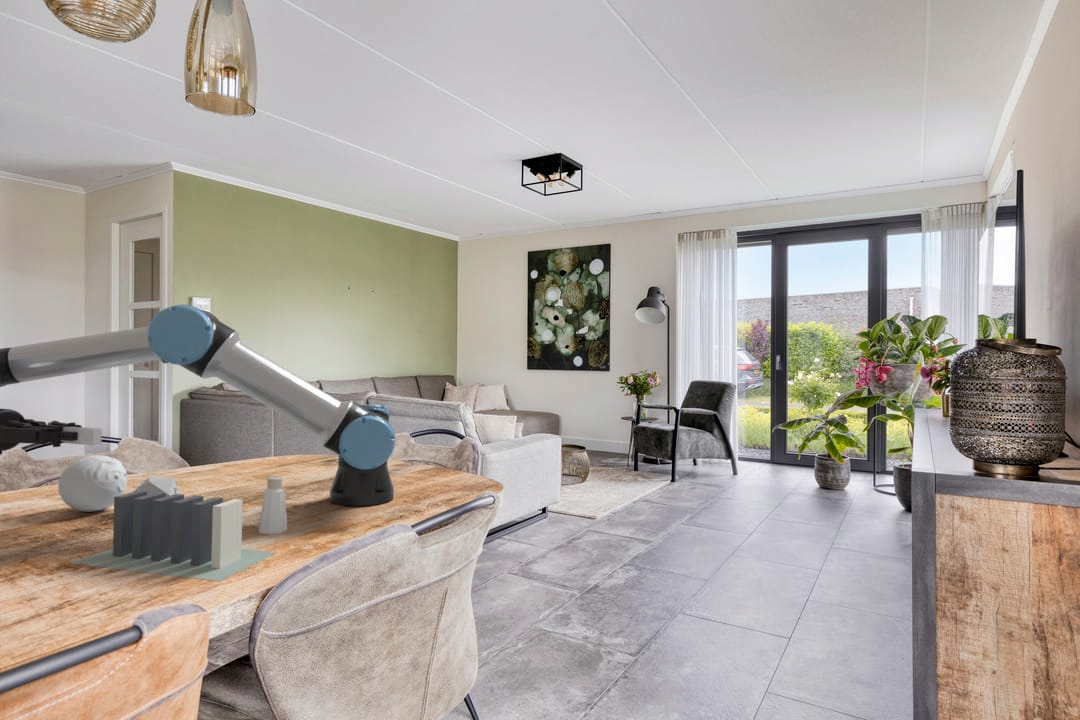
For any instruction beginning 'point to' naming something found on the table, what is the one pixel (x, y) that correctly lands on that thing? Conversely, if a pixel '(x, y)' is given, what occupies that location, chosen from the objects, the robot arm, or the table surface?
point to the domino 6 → (226, 533)
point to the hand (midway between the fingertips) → (97, 437)
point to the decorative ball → (92, 483)
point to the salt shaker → (273, 508)
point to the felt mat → (175, 565)
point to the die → (159, 486)
